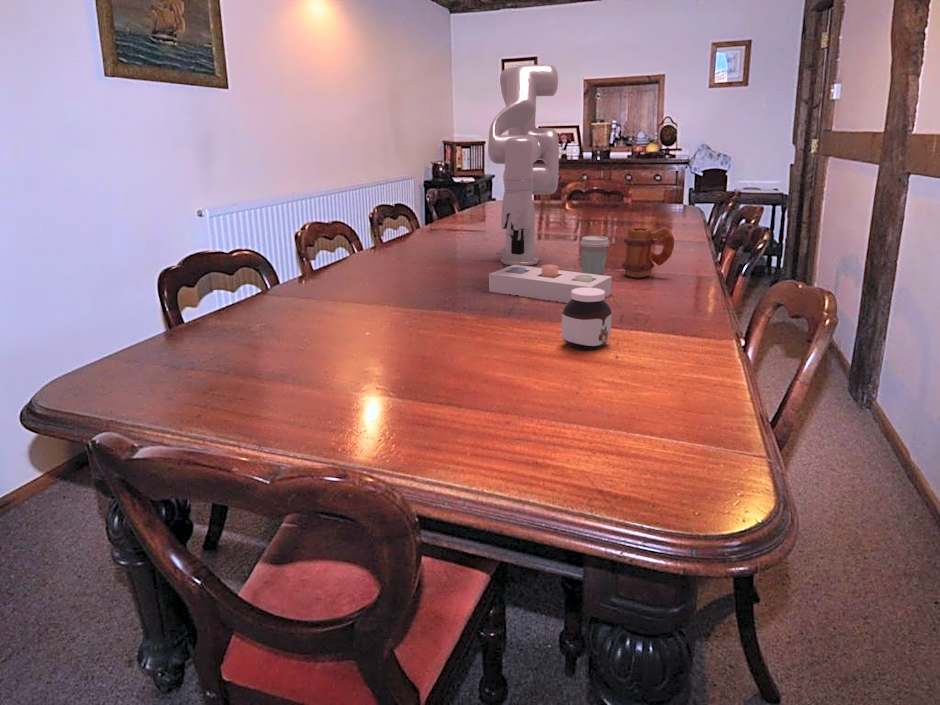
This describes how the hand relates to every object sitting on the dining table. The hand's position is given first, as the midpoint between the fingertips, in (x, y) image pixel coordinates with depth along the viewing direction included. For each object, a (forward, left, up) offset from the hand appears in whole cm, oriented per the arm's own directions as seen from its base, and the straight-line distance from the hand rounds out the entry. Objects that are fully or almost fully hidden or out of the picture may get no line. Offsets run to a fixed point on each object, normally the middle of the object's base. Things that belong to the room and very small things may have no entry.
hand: (517, 253), depth 182 cm
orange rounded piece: (+10, 0, -7) cm, 13 cm away
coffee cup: (+13, +23, -10) cm, 28 cm away
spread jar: (+35, -34, -10) cm, 50 cm away
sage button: (+20, 0, -9) cm, 22 cm away
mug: (+26, +32, -10) cm, 42 cm away
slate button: (0, 0, -9) cm, 9 cm away
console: (+10, 0, -10) cm, 14 cm away
